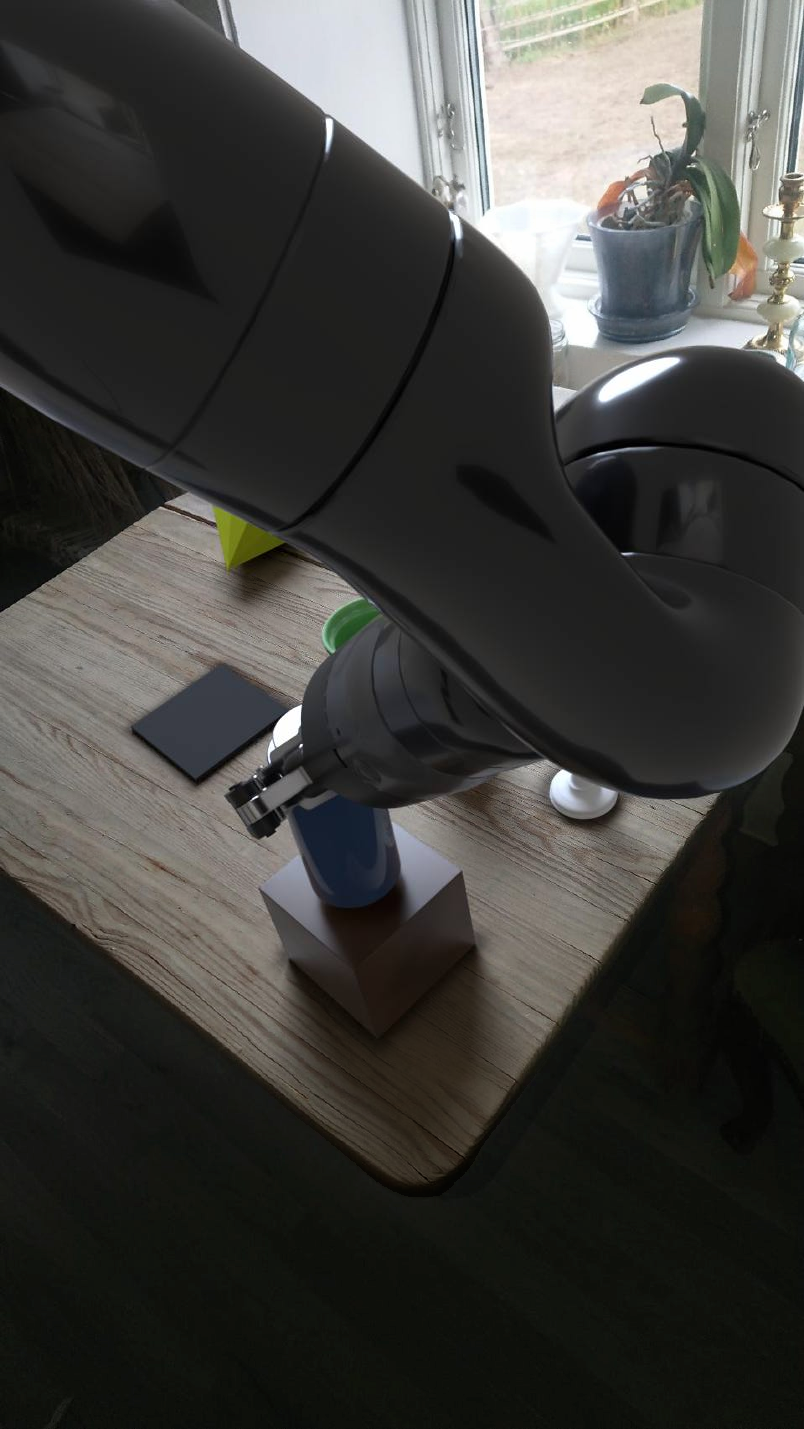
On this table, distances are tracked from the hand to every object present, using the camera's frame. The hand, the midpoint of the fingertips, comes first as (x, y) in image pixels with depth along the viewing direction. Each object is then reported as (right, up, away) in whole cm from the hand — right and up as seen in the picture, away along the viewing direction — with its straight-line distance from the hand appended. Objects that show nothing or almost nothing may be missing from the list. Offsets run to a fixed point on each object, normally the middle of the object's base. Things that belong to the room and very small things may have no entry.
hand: (308, 762), depth 54 cm
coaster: (-11, +2, +30) cm, 32 cm away
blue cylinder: (+2, -7, +5) cm, 8 cm away
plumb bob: (-8, +23, +52) cm, 57 cm away
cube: (+4, -13, +11) cm, 17 cm away
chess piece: (+19, -3, +18) cm, 26 cm away
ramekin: (+3, +7, +32) cm, 33 cm away
